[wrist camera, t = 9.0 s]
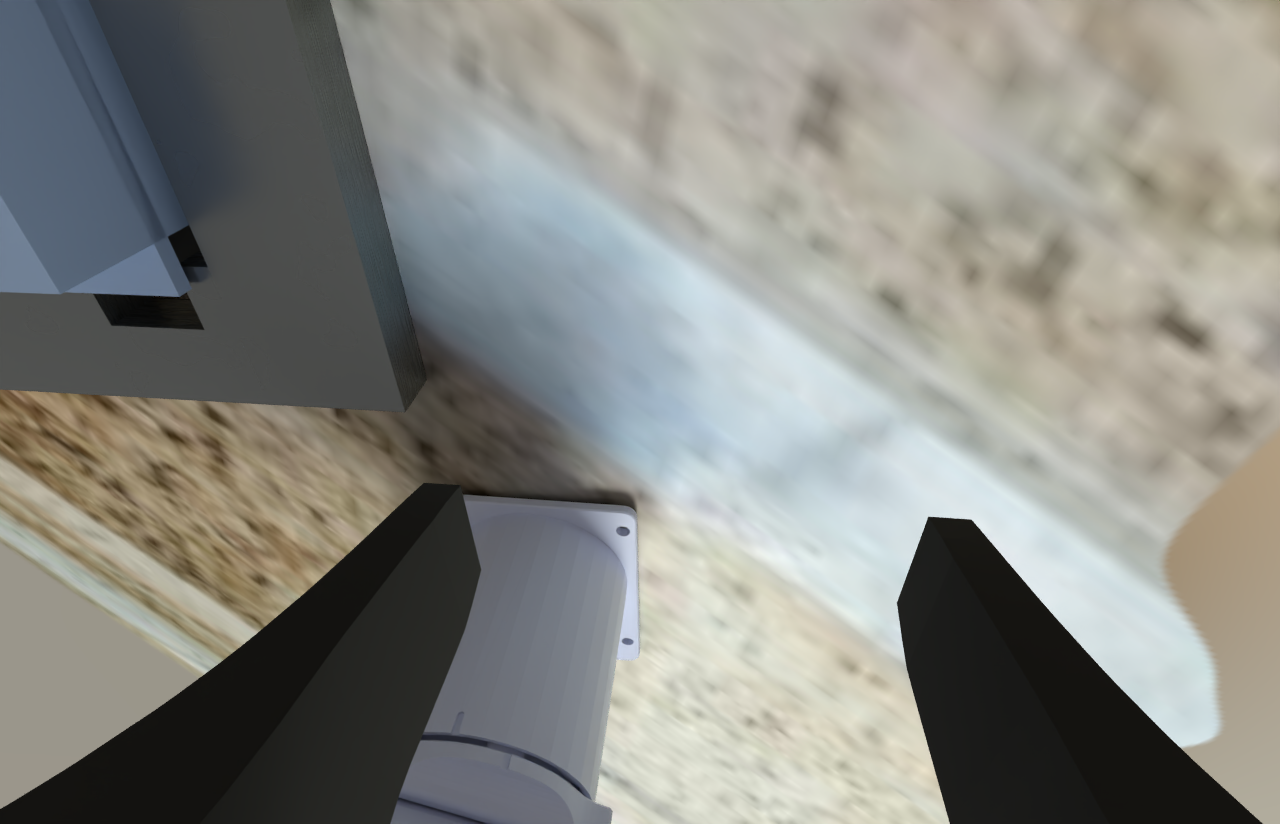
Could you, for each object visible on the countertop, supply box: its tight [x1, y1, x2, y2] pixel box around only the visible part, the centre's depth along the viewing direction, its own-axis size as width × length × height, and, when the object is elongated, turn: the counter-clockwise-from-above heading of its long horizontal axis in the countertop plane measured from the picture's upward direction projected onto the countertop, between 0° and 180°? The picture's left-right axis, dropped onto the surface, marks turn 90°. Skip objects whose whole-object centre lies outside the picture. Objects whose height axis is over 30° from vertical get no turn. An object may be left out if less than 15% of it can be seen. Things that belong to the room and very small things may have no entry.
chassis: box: [0, 0, 427, 412], centre depth 16 cm, size 16×14×2 cm
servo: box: [0, 0, 200, 297], centre depth 15 cm, size 9×4×6 cm, turn 1°
